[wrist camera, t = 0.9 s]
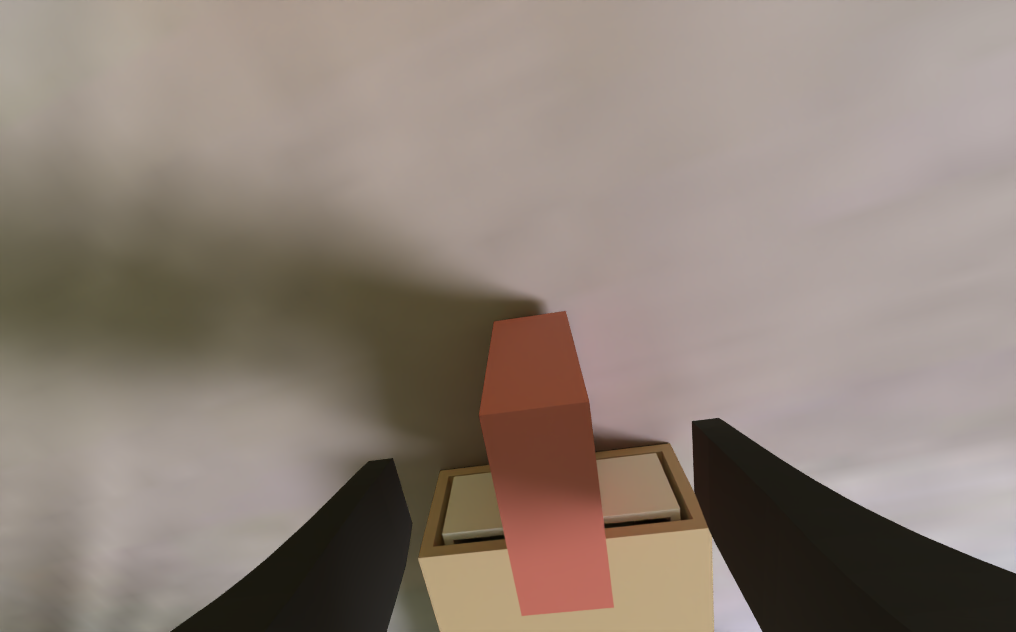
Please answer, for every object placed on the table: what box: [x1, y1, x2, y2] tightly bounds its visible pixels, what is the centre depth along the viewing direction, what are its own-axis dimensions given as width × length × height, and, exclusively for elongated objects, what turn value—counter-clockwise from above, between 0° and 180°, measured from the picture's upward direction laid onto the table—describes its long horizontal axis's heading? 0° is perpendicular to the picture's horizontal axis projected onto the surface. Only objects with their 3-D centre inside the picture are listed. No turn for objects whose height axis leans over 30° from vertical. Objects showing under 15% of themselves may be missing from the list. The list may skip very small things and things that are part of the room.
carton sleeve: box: [418, 443, 714, 632], centre depth 18 cm, size 10×9×4 cm
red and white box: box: [442, 311, 681, 616], centre depth 15 cm, size 15×8×6 cm, turn 9°
